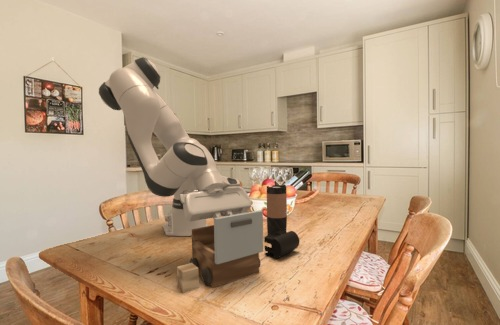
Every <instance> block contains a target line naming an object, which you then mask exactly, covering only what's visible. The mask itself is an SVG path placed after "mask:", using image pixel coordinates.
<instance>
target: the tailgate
mask: <svg viewBox="0 0 500 325" xmlns="http://www.w3.org/2000/svg"><path fill="white" fill-rule="evenodd" d="M263 214H264V212H263V210H260V209H259V210H254V211H249V212H248V211H247V212H246V213H242V214H236V215H230V216H220V217H219V218H214V219H213V225H214V247H215V263H216V264H221V263H224V262H228V261H231V260H235V259H238V258H242V257H245V256H249V255H252V254H256V253H259V254H260V253H263V252H264V215H263Z"/></svg>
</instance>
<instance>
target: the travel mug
mask: <svg viewBox="0 0 500 325" xmlns="http://www.w3.org/2000/svg"><path fill="white" fill-rule="evenodd" d="M287 198H288V197H287V186H286V185H284V184H283V185H282V184H280V185H279V184H274V185H272V186H269V185H266V230H267V231H266V232H267V233H266V234H267V235H270V234H271V235H274V236H279V234H276V232H279V231H284V232H287V224H288V219H287V218H288V217H287V216H288V215H287V214H288V213H287V212H288V209H287V207H288V206H287V205H288V204H287V203H288V202H287V200H288V199H287Z"/></svg>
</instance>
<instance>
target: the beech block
mask: <svg viewBox="0 0 500 325" xmlns="http://www.w3.org/2000/svg"><path fill="white" fill-rule="evenodd" d="M199 276H200V275H199V270H198V267H196V266H195V265H194V264H193V263H190V262H189V263H186V264H182V265H178V266H176V278H177V280H176V282H177V283H176V286H177V288H179V290H181V292H182V293H184V294H185V293H186V292H191V291H192V290H193V291H194V290H196V289H199V288H200V284H199V283H200V282H199V280H200V277H199Z"/></svg>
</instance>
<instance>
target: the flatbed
mask: <svg viewBox="0 0 500 325" xmlns="http://www.w3.org/2000/svg"><path fill="white" fill-rule="evenodd" d="M191 256H192V257H191V258H190V260H189V263H193V264H194V265H195V266H196V267H198V270H199V276H200V277H201V278H202V281H203V283H204V284H205V285H206V286H209V285H210V286H211V287H212V288H216V287H220V286H222V285H225V284H228V283H232V282H234V281H237V280H241V279H243V278H247V277H249V276H252V275H254V274H255V275H256V274H258V273H260V268H261V259H260V252H259V253H256V254H252V255H249V256H245V257H242V258H238V259H235V260H231V261H228V262H224V263H221V264H216V263H215V247H214V224H213V225H209V226H206V227H201V228H196V229H192V236H191Z"/></svg>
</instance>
